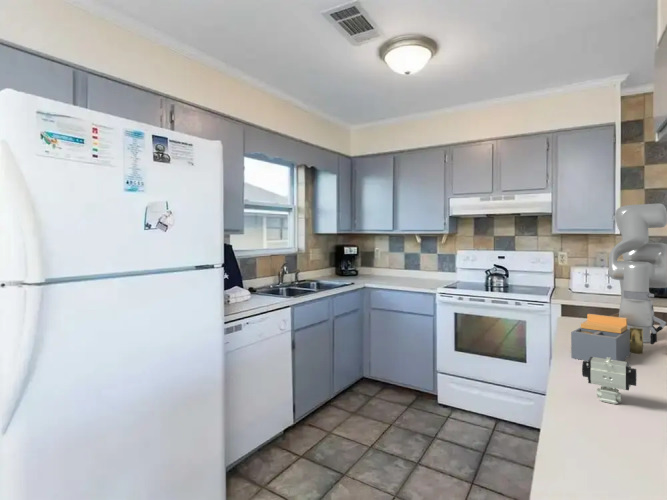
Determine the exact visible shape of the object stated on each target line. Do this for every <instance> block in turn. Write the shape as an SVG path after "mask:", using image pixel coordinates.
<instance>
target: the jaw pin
mask: <svg viewBox="0 0 667 500" xmlns="http://www.w3.org/2000/svg"><path fill="white" fill-rule="evenodd" d="M630 353H633V354H638V355H642V354H644V343H643V329H642V328H637V327H630Z"/></svg>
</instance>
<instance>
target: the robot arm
mask: <svg viewBox="0 0 667 500" xmlns="http://www.w3.org/2000/svg"><path fill="white" fill-rule="evenodd" d="M614 217H615V223H616V226H617V228H618V231H619V233H620V235H621V237H622V240H621V241H619V242H618V243H617V244H616V245H614V247H613V248H612V249H611V251H610V252H609V255H608V275H609V277H610V278H611V279H613V280H615V281H619V284H620V296H621V297H620V302H619V303H620V304H619V305H620V306H619V311H618V312H617V313H614V314H611V315H610V316H613V317H622V318H627V327H628V329H629V330H630V327H637V328H642V329H643V344H644V343H645V344H646V343H648V344H649V343H650V344H651V345H654V344H655V343H657V340H658V339H657V338H658V333H659V332H660V331H662V330H663V329H664V328H665V326H666V325H667V321H664V320H663V319H662V318H658V317H657V316H655V309H654V305H653V304H654V302H653V300H652V298H655V294H654V293H652V292H650V288H651V289H654V288H655V289H667V243H663V242H650V240H649V238H650V237H649V235H650V234H649V229H652V228H653V229H654V228H655V229H659V228H665V227H666V226H667V208H666V206H665V204H663V203H645V204H641V203H640V204H629V205H627V204H626V205H624V206H623V205H622V206H620V207H618V208H617V209H616V210H615V215H614ZM620 256H622V259H623V260H618V259H619V257H620ZM655 322H656V323H659V325H658V326H657V327H655V324H656V323H655Z"/></svg>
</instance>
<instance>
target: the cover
mask: <svg viewBox="0 0 667 500" xmlns="http://www.w3.org/2000/svg"><path fill="white" fill-rule="evenodd" d="M586 318H587V320H586V321H583V322H581V323H580V327H581V328H585V329H593V330H600V331H607V332H614V333H622V332H624V331H625V330H627V329H628V327H627V318H622V317H613V316H611V315H602V314H595V313H587V316H586Z"/></svg>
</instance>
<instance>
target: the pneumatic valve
mask: <svg viewBox="0 0 667 500" xmlns="http://www.w3.org/2000/svg"><path fill="white" fill-rule="evenodd" d="M581 373H582V374H581V375H582V377H583V378H586V380H587V382H588V384H592V385H597V386H600V388H598V387H597V389H596V397H597V398H599V401H601V402H602V403H608V404H613V405H618V404H619V403H621V402H622V393H621V392H620V390H624V391H629V390H630V388H631V387H632V386H634V387H636V386H637V381H638V380H637V378H638V377H637V376H638V375H637V373H638V372H637V368H633V367H632V366H631V363H630V361H625V360H624V361H617V360H611V358H610V357H609V358H608V357H607V359H603V358H597V357H590V358H589V360H588V361H585V360H582V367H581Z"/></svg>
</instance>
